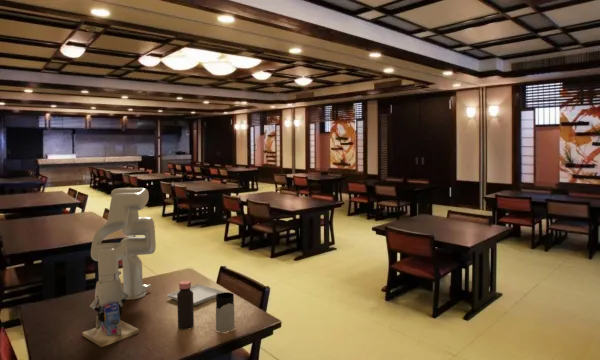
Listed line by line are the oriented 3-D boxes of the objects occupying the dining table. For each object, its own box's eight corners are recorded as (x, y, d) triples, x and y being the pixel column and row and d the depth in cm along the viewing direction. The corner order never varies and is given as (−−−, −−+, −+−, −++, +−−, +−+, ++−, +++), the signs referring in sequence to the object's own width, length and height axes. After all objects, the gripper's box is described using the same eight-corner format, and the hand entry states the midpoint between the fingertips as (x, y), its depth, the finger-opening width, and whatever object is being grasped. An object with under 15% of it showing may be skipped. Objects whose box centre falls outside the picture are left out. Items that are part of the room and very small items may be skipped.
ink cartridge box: (99, 328, 174) (98, 295, 172) (113, 324, 177) (112, 292, 176) (106, 336, 166) (105, 302, 165) (120, 332, 170) (119, 299, 168)
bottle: (177, 324, 181) (176, 280, 179) (192, 322, 184) (191, 279, 182) (178, 331, 175) (177, 285, 173) (195, 328, 178) (194, 283, 176)
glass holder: (219, 335, 171) (218, 300, 170) (208, 322, 183) (207, 290, 182) (238, 330, 176) (238, 296, 174) (226, 318, 188) (225, 286, 186)
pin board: (119, 322, 183) (118, 308, 182) (138, 332, 173) (138, 317, 173) (82, 335, 170) (82, 320, 170) (101, 347, 161) (100, 331, 160)
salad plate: (197, 288, 228) (197, 283, 227) (224, 297, 215) (224, 290, 215) (165, 300, 210) (165, 294, 210) (192, 310, 198) (192, 303, 198)
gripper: (123, 270, 179) (125, 309, 181) (83, 280, 165) (85, 322, 167) (133, 273, 174) (134, 313, 176) (92, 284, 161) (93, 327, 162)
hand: (110, 317), depth 171 cm, fingers open, 6 cm apart
